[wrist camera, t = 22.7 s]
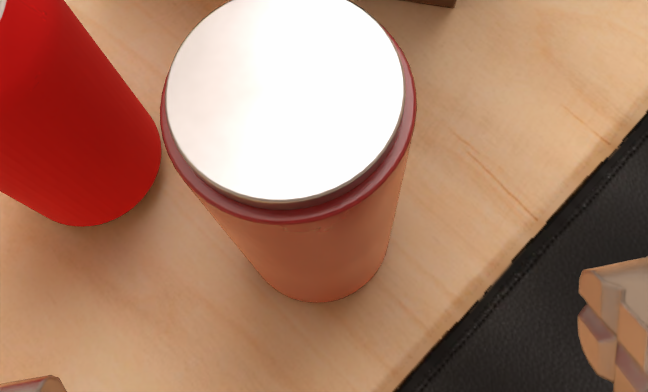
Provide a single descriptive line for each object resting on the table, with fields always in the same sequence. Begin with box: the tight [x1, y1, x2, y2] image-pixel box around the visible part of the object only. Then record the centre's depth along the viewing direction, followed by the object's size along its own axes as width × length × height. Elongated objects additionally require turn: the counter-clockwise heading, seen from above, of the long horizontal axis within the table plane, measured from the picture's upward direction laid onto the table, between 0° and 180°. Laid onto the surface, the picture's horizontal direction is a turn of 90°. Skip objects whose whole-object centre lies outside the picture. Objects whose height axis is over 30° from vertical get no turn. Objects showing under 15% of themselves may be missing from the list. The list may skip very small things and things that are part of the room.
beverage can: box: [0, 0, 161, 226], centre depth 21 cm, size 6×6×12 cm
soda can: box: [160, 0, 417, 303], centre depth 19 cm, size 6×6×13 cm
